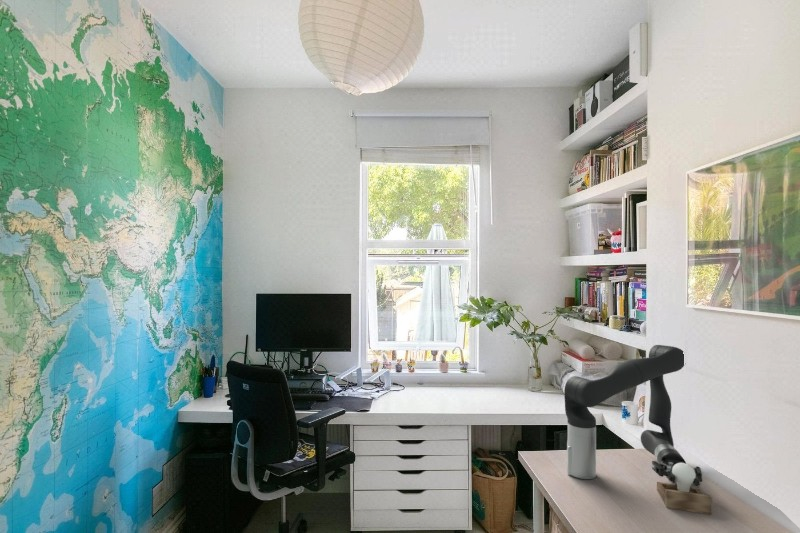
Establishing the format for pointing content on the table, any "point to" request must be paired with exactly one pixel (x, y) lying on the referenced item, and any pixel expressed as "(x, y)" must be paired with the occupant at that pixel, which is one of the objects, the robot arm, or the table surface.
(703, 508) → the cradle
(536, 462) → the table surface
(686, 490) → the lightbulb
